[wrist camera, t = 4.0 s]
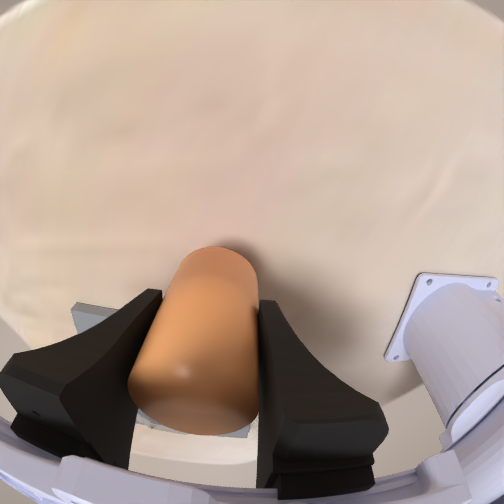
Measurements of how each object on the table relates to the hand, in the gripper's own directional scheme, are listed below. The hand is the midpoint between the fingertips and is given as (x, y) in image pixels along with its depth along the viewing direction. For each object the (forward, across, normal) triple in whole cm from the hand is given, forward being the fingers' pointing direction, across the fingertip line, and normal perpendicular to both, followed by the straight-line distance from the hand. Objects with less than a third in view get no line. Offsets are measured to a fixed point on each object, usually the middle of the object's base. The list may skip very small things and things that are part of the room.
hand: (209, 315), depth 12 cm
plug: (+2, 0, 0) cm, 2 cm away
